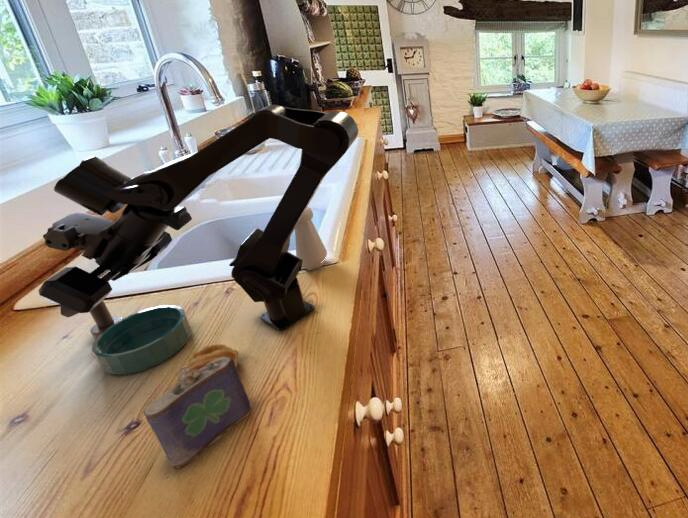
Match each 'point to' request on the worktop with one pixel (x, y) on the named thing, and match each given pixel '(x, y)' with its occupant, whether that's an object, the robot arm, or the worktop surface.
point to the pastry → (211, 356)
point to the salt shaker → (309, 242)
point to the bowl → (142, 339)
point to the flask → (198, 410)
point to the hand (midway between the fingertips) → (89, 296)
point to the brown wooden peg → (102, 319)
